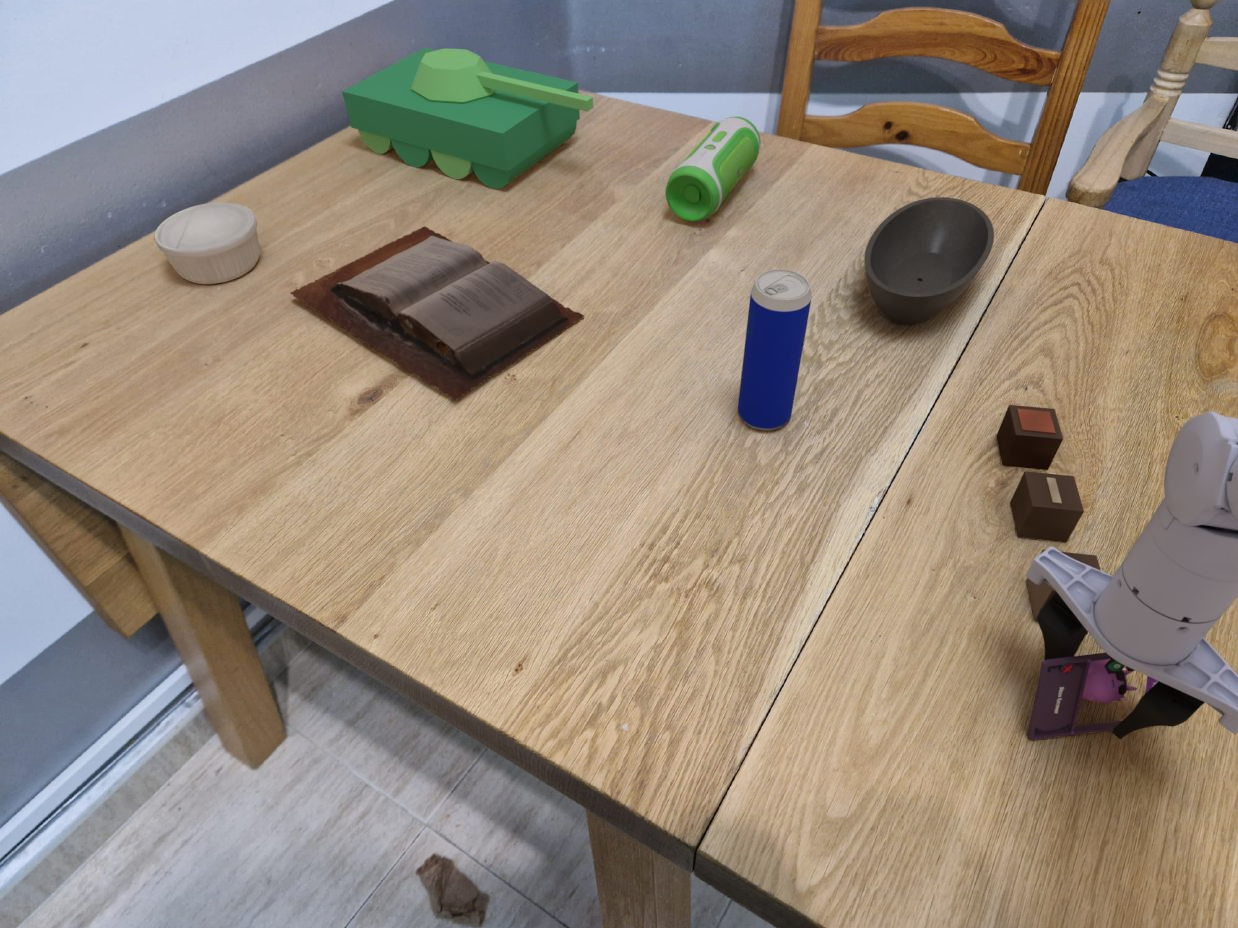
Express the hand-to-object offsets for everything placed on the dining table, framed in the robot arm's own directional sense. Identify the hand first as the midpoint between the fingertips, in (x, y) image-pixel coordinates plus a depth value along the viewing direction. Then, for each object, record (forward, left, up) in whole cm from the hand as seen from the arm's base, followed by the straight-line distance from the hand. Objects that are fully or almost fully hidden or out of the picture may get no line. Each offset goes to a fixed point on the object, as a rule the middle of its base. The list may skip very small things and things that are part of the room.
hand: (1087, 698), depth 61 cm
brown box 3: (+6, -6, -1) cm, 9 cm away
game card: (+1, 0, -2) cm, 2 cm away
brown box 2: (+12, -12, -1) cm, 18 cm away
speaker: (+72, -27, -2) cm, 77 cm away
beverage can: (+36, -3, -2) cm, 37 cm away
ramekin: (+95, +31, -2) cm, 100 cm away
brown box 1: (+18, -18, -1) cm, 26 cm away
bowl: (+41, -31, -2) cm, 52 cm away
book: (+71, +14, -2) cm, 73 cm away
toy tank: (+101, -10, -2) cm, 102 cm away
